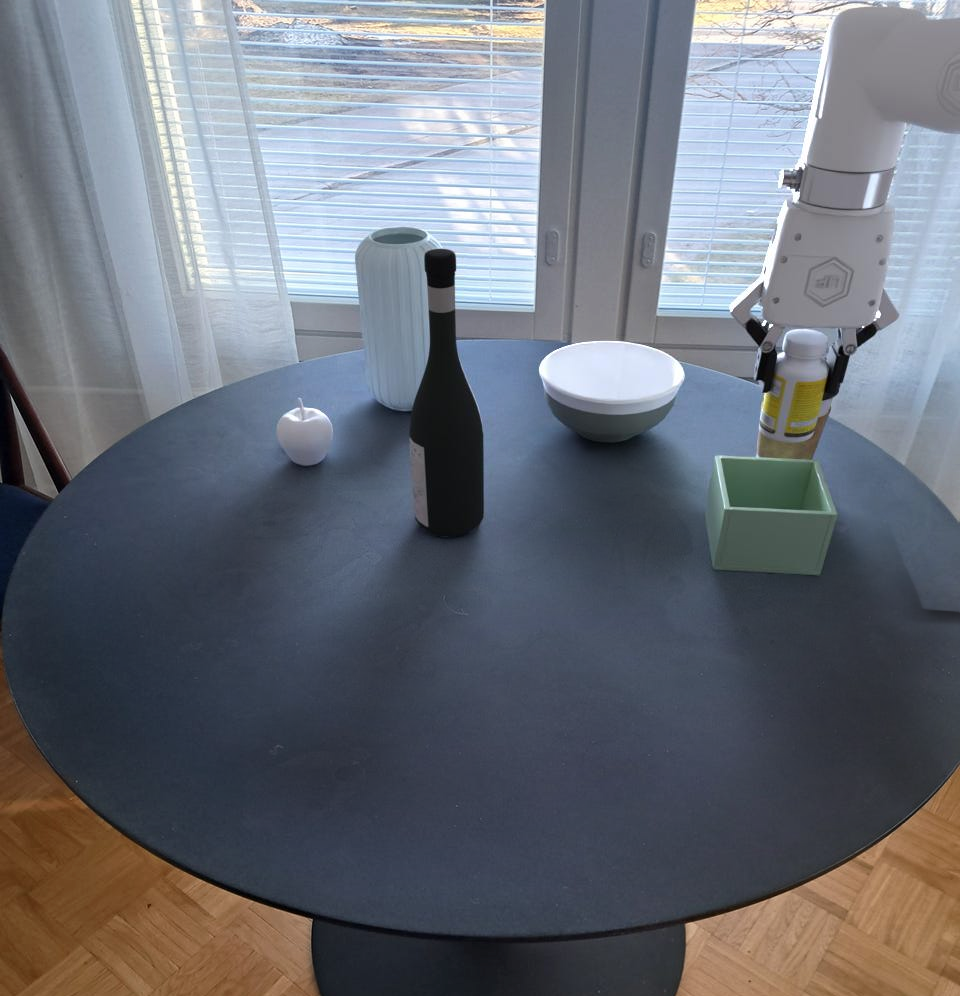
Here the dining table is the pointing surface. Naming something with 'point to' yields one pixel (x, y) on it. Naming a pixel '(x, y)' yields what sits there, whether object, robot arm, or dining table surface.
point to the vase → (394, 312)
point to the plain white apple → (305, 435)
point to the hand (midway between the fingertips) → (795, 386)
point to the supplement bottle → (796, 387)
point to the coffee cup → (799, 449)
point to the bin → (769, 515)
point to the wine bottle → (445, 420)
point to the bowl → (610, 388)
